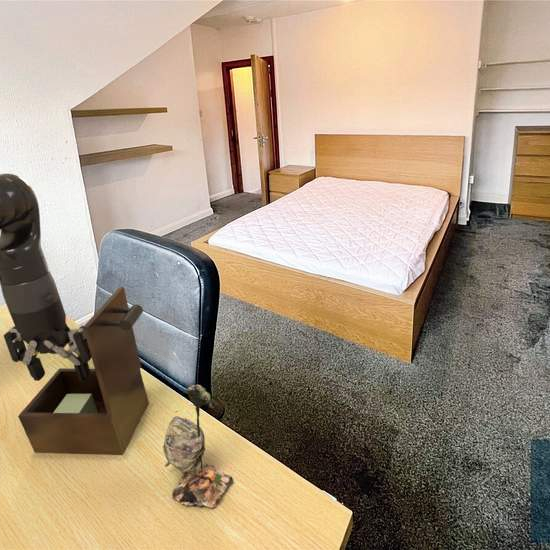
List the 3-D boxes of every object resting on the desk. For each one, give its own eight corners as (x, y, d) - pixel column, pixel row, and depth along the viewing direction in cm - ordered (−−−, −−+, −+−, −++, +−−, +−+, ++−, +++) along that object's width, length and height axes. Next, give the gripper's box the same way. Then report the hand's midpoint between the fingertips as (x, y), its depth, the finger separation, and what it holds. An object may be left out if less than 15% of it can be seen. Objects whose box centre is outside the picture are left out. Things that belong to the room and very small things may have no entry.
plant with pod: (192, 451, 72) (172, 360, 63) (240, 483, 66) (225, 386, 57) (155, 486, 66) (127, 390, 58) (204, 524, 60) (181, 424, 51)
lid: (82, 326, 61) (117, 327, 60) (119, 286, 72) (149, 287, 72) (107, 415, 68) (138, 416, 68) (137, 366, 80) (164, 367, 79)
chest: (34, 452, 74) (17, 416, 70) (71, 402, 86) (59, 368, 82) (122, 455, 72) (110, 417, 68) (148, 403, 84) (139, 368, 80)
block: (60, 432, 77) (52, 412, 75) (74, 413, 81) (67, 393, 79) (86, 432, 76) (78, 412, 74) (98, 413, 81) (91, 393, 79)
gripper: (86, 288, 70) (108, 365, 77) (8, 289, 71) (38, 364, 78) (61, 311, 63) (89, 393, 70) (-23, 312, 64) (12, 391, 71)
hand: (62, 378), depth 74 cm, fingers open, 8 cm apart
